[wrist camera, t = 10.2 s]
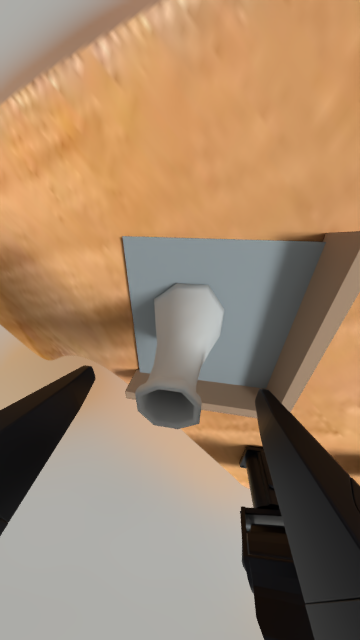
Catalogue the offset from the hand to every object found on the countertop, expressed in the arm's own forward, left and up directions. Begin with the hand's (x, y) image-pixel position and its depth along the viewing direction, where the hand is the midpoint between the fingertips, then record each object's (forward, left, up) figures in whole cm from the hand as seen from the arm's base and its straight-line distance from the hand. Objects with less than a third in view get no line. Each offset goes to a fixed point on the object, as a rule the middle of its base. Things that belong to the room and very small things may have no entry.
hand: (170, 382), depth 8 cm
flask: (0, 0, -9) cm, 9 cm away
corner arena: (-1, -2, -9) cm, 9 cm away
